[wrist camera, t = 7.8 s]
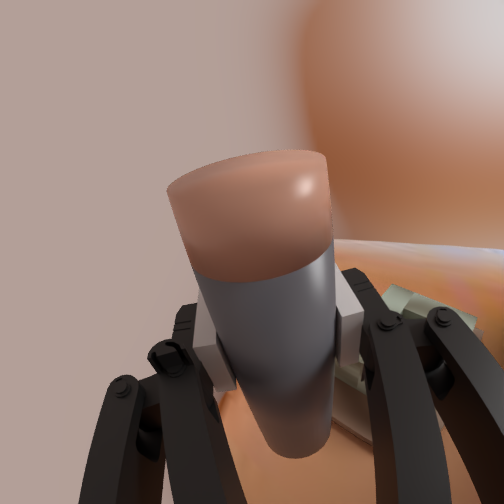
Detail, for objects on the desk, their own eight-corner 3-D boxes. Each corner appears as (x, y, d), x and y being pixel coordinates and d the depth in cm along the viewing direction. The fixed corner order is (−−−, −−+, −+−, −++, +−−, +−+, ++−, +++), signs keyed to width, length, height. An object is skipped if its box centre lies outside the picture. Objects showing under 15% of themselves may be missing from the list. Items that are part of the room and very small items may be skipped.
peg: (297, 392, 16) (254, 149, 9) (343, 425, 13) (357, 153, 6) (251, 431, 14) (146, 189, 7) (296, 470, 12) (224, 209, 4)
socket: (388, 297, 37) (391, 263, 34) (481, 336, 25) (496, 302, 22) (295, 394, 27) (291, 363, 24) (414, 470, 15) (436, 451, 12)
